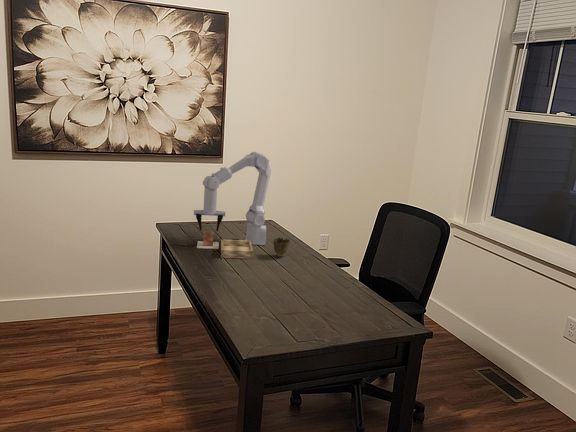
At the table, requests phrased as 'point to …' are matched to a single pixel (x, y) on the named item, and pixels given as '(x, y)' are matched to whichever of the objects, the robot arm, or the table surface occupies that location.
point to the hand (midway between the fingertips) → (208, 230)
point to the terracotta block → (208, 238)
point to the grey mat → (215, 246)
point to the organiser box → (236, 249)
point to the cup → (281, 246)
